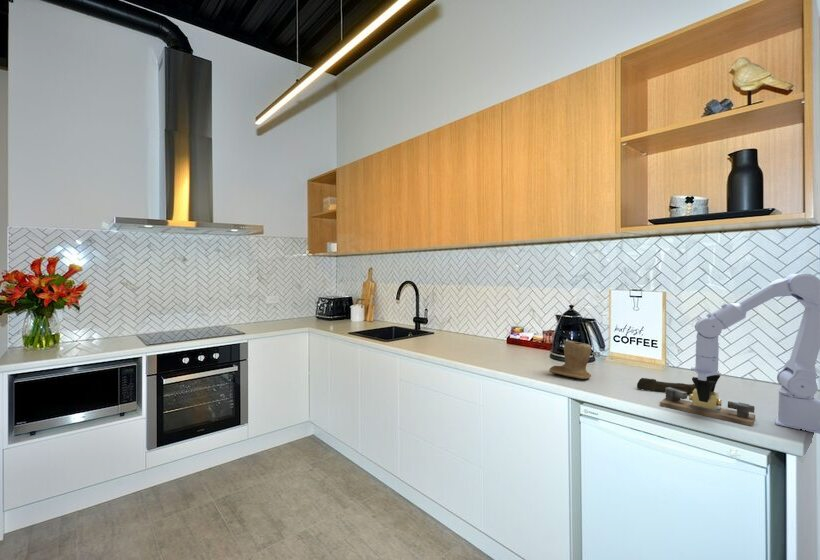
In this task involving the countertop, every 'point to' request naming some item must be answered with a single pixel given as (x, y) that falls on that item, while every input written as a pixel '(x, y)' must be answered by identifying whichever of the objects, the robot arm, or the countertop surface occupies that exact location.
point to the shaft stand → (737, 416)
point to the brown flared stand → (574, 360)
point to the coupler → (711, 403)
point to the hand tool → (663, 385)
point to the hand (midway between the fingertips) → (705, 398)
